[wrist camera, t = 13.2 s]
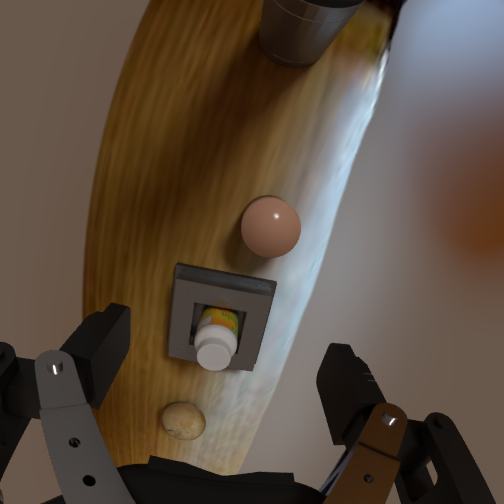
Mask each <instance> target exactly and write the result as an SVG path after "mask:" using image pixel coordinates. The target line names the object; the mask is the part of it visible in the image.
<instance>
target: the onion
mask: <svg viewBox="0 0 504 504" xmlns="http://www.w3.org/2000/svg"><path fill="white" fill-rule="evenodd" d="M162 423H163V426H164V428H165V430H166V432H167V433H168V434H169V436H170V438H168V439H171V436H173V437H175V438H177V439H179V440H194V439H196V438H198V437H199V436H200V435H201V434H202V433H203V431H204V429H205V426H206V420H205V417H204V414H203V413H202V412H201V410H200V409H199V408H198V407H197V406H194V405H193V404H190V403H186V402H178V403H174V404H171V405H169V406H168V407H166V408H165V410H164V411H163V413H162Z"/></svg>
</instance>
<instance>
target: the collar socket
mask: <svg viewBox="0 0 504 504" xmlns="http://www.w3.org/2000/svg"><path fill="white" fill-rule="evenodd" d="M276 286H277V282H276V281H273V280H267V279H262V278H256V277H251V276H245V275H240V274H235V273H229V272H224V271H219V270H214V269H209V268H203V267H198V266H193V265H188V264H183V263H177V264H176V270H175V278H174V286H173V295H172V304H171V313H170V324H169V334H168V346H167V348H169V355H168V356H169V357H174V358H178V359H183V360H188V361H193V362H198V360H197V351H196V349H195V345H194V340H195V335H196V332H197V328H198V324H199V321H200V317H201V314H202V312H203V310H204V309H205V308H206V307H207V306H209V305H212V306H217V307H222V308H228V309H233V310H235V312H236V313H237V316H238V336H237V349H236V352H235V353H234V355H233V356H232V357H231V360H230V363H229V365H228V366H227V367H226V368H233V369H239V370H246V371H253V368H254V364H256V361H257V357H258V353H259V350H260V346H261V342H262V339H263V335H264V331H265V328H266V324H267V320H268V316H269V313H270V309H271V305H272V301H273V297H274V293H275V290H276ZM198 363H199V362H198Z"/></svg>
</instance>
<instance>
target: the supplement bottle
mask: <svg viewBox="0 0 504 504" xmlns="http://www.w3.org/2000/svg"><path fill="white" fill-rule="evenodd" d="M237 336H238V316H237V313H236V312H235V310H233V309H228V308H222V307H217V306H212V305H209V306H207V307H206V308H205V309H204V310H203V312H202V314H201V317H200V321H199V324H198V328H197V332H196V335H195V340H194V345H195V349H196V351H197V360H198V362H199V364H200V365H201V366H202V367H203V368H205V369H207V370H211V371H219V370H222V369H224V368H226V367H227V366H228V365H229V363H230V360H231V357H232V356H233V355H234V353H235V352H236V349H237Z"/></svg>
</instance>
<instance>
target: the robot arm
mask: <svg viewBox="0 0 504 504" xmlns="http://www.w3.org/2000/svg"><path fill="white" fill-rule="evenodd" d="M364 1H365V0H264V1H263V8H262V15H261V22H260V29H259V43H260V46H261V48H262V50H263V51H264V53H265V54H266V55H267V56H268V57H269V58H271V59H272V60H273V61H275V62H277V63H279V64H282V65H285V66H289V67H303V66H308V65H310V64H312V63H314V62H316V61H317V60H318V59H319V58H320V57H321V56H322V54H323V53H324V52H325V50H326V49H327V48H328V47H329V45H330V44H331V43H332V42H333V40H334V39H335V38H336V36H337V35H338V34H339V33H340V31H341V30H342V29H343V28H344V26H345V25H346V24H347V23H348V21H349V20H350V19H351V18H352V16H353V15H354V14H355V12H356V11H357V10H358V9H359V7H360V6H361V5H362V4H363V3H364ZM129 346H130V307H128V306H124V305H120V304H116V303H110V304H109V306H108V307H107V308H106V309H105V310H104V312H103V313H102V312H98V311H97V312H95V313H93V314H91V315H89V316H87V317H86V318H85V320H84V321H83V322H82V323H81V325H79V327H78V328H77V329H76V331H74V332H73V334H72V335H71V336H70V337H69V339H67V341H66V342H65V343H64V344H63V346H62V347H61V348H60V349H59V350H50V351H46V352H44V353H42V354H40V355H39V356H38V357H37V359H36V360H32V359H25V358H19V357H16V354H15V350H14V348H13V347H12V346H11V345H10V344H8V343H5V342H0V481H1V478H2V476H3V474H4V471H5V469H6V467H7V465H8V463H9V461H10V459H11V457H12V455H13V453H14V451H15V449H16V446H17V445H18V443H19V441H20V439H21V437H22V435H23V433H24V431H25V429H26V427H27V426H28V424H29V422H30V420H31V418H35V419H41V423H42V428H43V432H44V436H45V440H46V444H47V448H48V452H49V455H50V459H51V462H52V465H53V469H54V472H55V475H56V478H57V481H58V484H59V487H60V489H61V492H62V495H60V496H58V497H55V498H53V499H51V500H49V501H46V502H44V503H41V504H385V503H386V500H387V498H388V496H389V493H390V490H391V488H392V486H393V483H394V482H395V485H396V488H397V492H398V495H399V498H400V502H401V504H496V502H495V500H494V498H493V496H492V494H491V492H490V490H489V488H488V486H487V484H486V482H485V480H484V478H483V476H482V474H481V472H480V470H479V468H478V466H477V464H476V462H475V460H474V458H473V456H472V455H471V453H470V451H469V449H468V448H467V445H466V444H465V442H464V440H463V438H462V436H461V435H460V433H459V431H458V429H457V428H456V426H455V424H454V423H453V421H452V420H451V419H450V418H449V417H448V416H446V415H444V414H442V413H438V412H434V413H431V414H429V415H428V416H427V417H426V419H425V420H424V421H423V422H422V421H416V420H410V419H407V415H406V414H405V412H404V411H403V410H402V409H401V408H400V407H398V406H396V405H394V404H390V403H387V402H386V400H385V398H384V396H383V394H382V392H381V390H380V388H379V387H378V384H377V383H376V382H375V379H374V377H373V375H371V371H370V369H369V368H368V366H367V364H366V363H365V362H364V361H362V360H361V359H360V358H359V357H356V356H355V354H354V352H353V350H352V348H351V346H350V345H348V344H339V343H331V344H330V345H329V347H328V349H327V351H326V354H325V356H324V359H323V361H322V363H321V366H320V368H319V370H318V373H317V379H316V384H317V389H318V392H319V395H320V399H321V402H322V406H323V409H324V413H325V416H326V419H327V423H328V427H329V430H330V434H331V437H332V441H333V444H334V445H345V446H346V450H345V451H344V452H343V454H342V455H341V457H340V459H339V460H338V462H337V464H336V465H335V467H334V469H333V470H332V472H331V473H330V475H329V476H328V478H327V479H326V481H325V482H324V484H323V485H322V487H321V488H320V489H319V490H316V489H314V488H312V487H309V486H307V485H304V484H301V483H297V482H294V475H293V473H277V472H254V473H247V474H238V475H228V476H222V475H218V474H215V473H212V472H209V471H206V470H203V469H201V468H198V467H195V466H193V465H190V464H188V463H185V462H179V461H174V460H170V459H165V458H160V457H156V456H152V455H150V458H149V462H148V464H131V465H125V466H121V467H117V468H116V467H115V465H114V462H113V460H112V458H111V456H110V454H109V452H108V450H107V447H106V445H105V443H104V441H103V438H102V436H101V433H100V431H99V429H98V426H97V424H96V421H95V418H94V416H93V413H92V411H91V408H90V407H93V408H96V409H98V410H99V408H100V406H101V404H102V402H103V400H104V398H105V396H106V394H107V392H108V390H109V388H110V386H111V384H112V382H113V380H114V378H115V376H116V374H117V372H118V370H119V368H120V366H121V364H122V363H123V361H124V359H125V357H126V355H127V353H128V350H129ZM431 460H432V463H433V465H434V467H435V470H436V472H437V475H438V478H437V483H436V484H435V486H434V484H433V482H432V479H431V477H430V474H429V472H428V469H427V467H426V465H427V464H428V463H429V462H430V461H431ZM3 500H4V499H3V495H2V492H1V490H0V504H3V502H4V501H3Z"/></svg>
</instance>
